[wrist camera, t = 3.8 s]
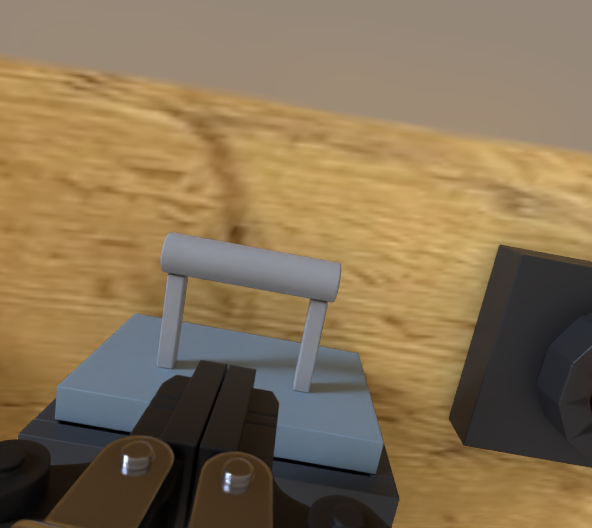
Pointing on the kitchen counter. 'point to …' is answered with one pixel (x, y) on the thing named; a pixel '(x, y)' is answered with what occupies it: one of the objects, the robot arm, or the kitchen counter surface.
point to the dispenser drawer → (237, 358)
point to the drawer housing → (289, 477)
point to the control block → (531, 361)
